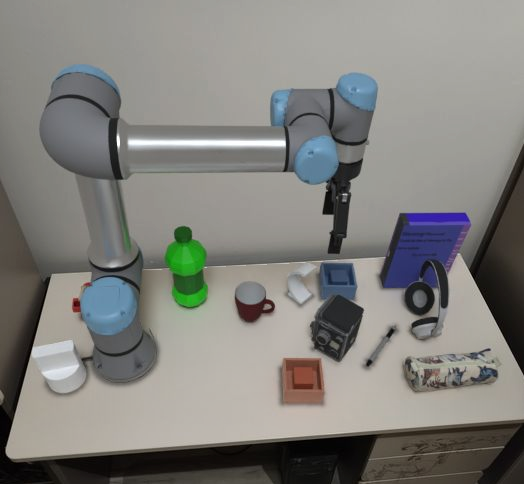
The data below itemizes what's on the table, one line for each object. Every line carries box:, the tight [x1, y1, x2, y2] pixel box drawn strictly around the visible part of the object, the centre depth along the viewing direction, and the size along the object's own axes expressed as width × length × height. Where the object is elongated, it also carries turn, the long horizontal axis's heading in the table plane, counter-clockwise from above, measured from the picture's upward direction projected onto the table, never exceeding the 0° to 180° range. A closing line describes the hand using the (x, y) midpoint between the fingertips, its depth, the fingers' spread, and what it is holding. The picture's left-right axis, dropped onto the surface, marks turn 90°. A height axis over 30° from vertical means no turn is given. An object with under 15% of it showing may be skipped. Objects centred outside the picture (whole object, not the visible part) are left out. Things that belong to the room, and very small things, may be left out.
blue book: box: [379, 212, 472, 289], centre depth 134 cm, size 17×5×24 cm, turn 93°
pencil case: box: [403, 347, 503, 392], centre depth 118 cm, size 22×8×10 cm, turn 97°
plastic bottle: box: [164, 225, 209, 308], centre depth 126 cm, size 10×10×25 cm
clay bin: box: [281, 357, 326, 404], centre depth 117 cm, size 9×9×5 cm
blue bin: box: [318, 262, 358, 301], centre depth 138 cm, size 9×9×5 cm
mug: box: [234, 280, 276, 323], centre depth 129 cm, size 10×8×10 cm
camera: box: [309, 294, 365, 362], centre depth 122 cm, size 10×10×15 cm
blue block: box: [328, 270, 348, 285], centre depth 138 cm, size 4×4×4 cm
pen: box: [365, 324, 398, 367], centre depth 127 cm, size 1×16×1 cm, turn 143°
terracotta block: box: [292, 367, 314, 389], centre depth 117 cm, size 4×4×4 cm
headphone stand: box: [286, 262, 318, 305], centre depth 134 cm, size 5×6×12 cm
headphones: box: [404, 259, 450, 340], centre depth 126 cm, size 19×8×20 cm, turn 0°
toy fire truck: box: [71, 281, 91, 315], centre depth 129 cm, size 3×14×10 cm, turn 6°
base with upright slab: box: [31, 339, 88, 394], centre depth 114 cm, size 9×9×12 cm
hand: (330, 232), depth 116 cm, fingers open, 13 cm apart
